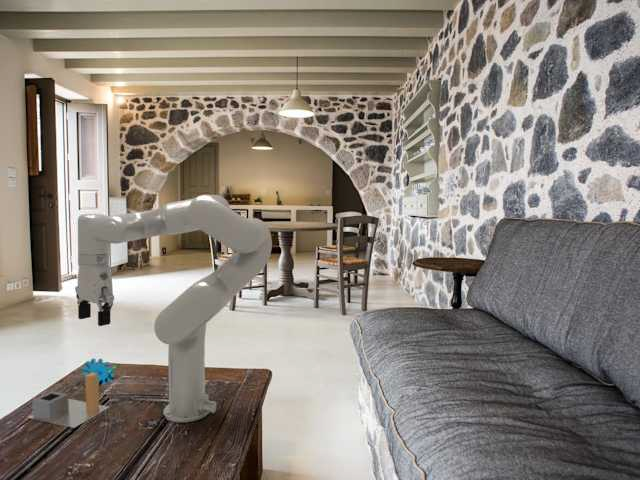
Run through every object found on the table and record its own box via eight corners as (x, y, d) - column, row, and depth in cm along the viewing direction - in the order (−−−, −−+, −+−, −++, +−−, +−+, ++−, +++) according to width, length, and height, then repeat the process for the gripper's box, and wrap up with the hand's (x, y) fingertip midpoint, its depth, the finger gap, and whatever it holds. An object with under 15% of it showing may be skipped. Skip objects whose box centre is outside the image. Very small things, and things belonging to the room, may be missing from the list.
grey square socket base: (110, 409, 124) (109, 389, 124) (74, 430, 113) (73, 408, 112) (65, 400, 129) (64, 381, 129) (26, 420, 118) (25, 399, 117)
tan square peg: (99, 408, 123) (97, 373, 122) (92, 412, 121) (91, 376, 120) (92, 407, 124) (91, 372, 123) (86, 411, 122) (85, 375, 121)
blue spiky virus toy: (90, 388, 134) (79, 359, 138) (81, 398, 136) (70, 370, 140) (123, 380, 144) (111, 354, 147) (113, 390, 146) (102, 364, 150)
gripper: (125, 262, 119) (125, 324, 121) (89, 255, 129) (90, 313, 130) (98, 265, 113) (98, 331, 115) (63, 257, 122) (63, 318, 124)
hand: (94, 321), depth 122 cm, fingers open, 9 cm apart
